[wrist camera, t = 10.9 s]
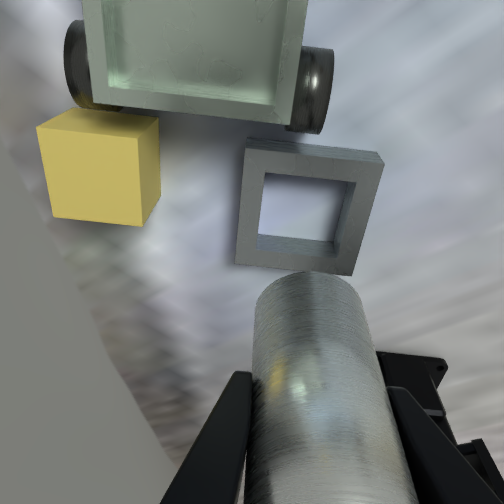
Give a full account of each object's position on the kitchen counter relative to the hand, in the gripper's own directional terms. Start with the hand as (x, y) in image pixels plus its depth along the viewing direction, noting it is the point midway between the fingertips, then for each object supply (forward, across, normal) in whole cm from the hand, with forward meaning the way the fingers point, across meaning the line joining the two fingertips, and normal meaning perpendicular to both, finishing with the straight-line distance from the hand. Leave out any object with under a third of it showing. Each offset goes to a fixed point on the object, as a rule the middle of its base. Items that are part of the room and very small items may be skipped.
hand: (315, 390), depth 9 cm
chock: (+13, +9, 0) cm, 16 cm away
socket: (+13, -1, +1) cm, 13 cm away
